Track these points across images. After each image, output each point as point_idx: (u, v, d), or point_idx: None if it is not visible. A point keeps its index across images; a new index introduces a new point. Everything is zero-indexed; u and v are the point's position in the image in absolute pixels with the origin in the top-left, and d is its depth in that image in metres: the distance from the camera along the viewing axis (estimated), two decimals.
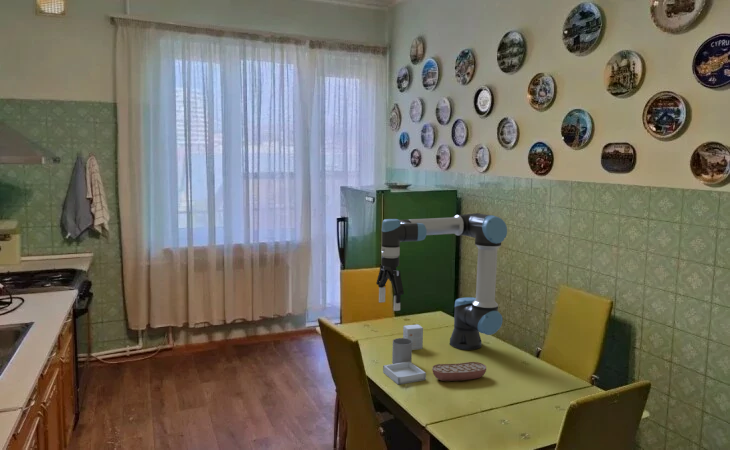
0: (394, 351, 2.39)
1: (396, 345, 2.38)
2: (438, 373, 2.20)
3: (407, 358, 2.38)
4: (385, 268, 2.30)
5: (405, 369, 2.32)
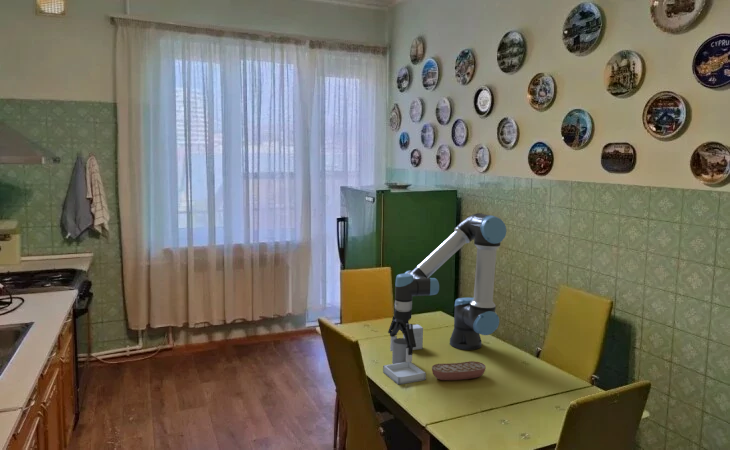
0: (394, 351, 2.39)
1: (396, 345, 2.38)
2: (438, 373, 2.21)
3: None
4: (397, 320, 2.41)
5: (405, 369, 2.32)
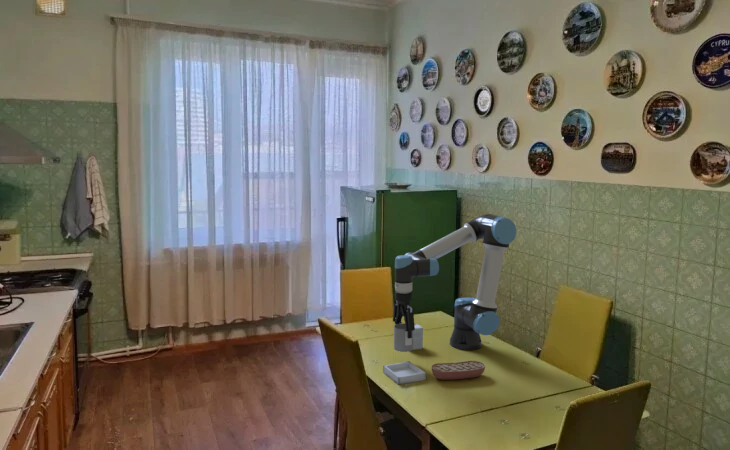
0: (395, 336, 2.38)
1: (397, 330, 2.37)
2: (437, 372, 2.21)
3: None
4: (399, 302, 2.39)
5: (405, 369, 2.32)
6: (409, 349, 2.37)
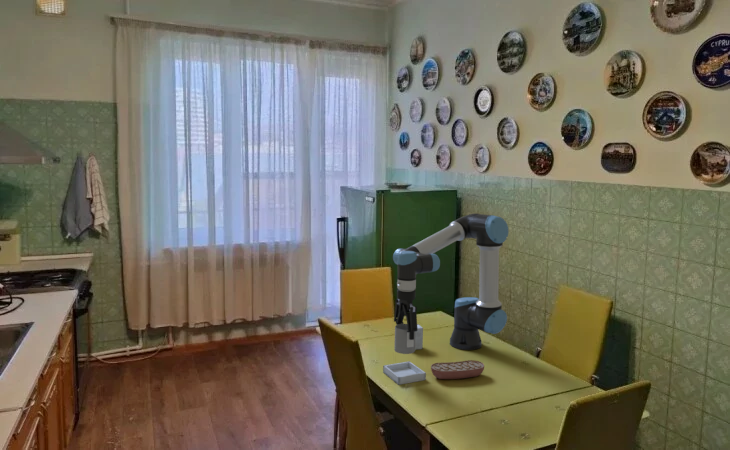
0: (396, 337, 2.23)
1: (398, 330, 2.22)
2: (437, 372, 2.22)
3: None
4: (401, 301, 2.25)
5: (405, 369, 2.32)
6: (411, 351, 2.22)
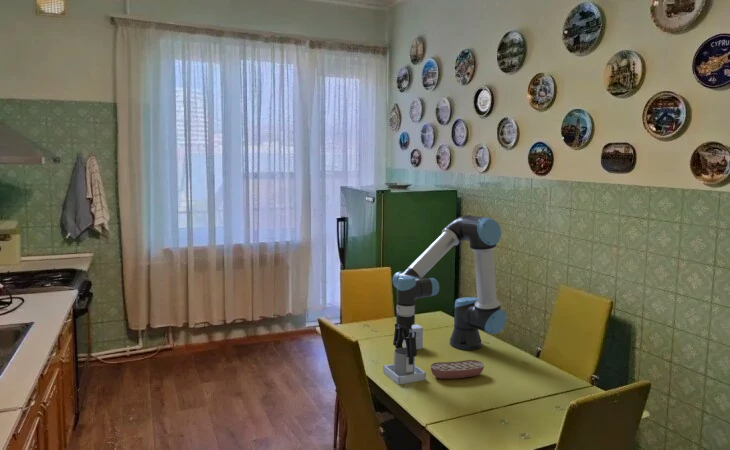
0: (396, 361, 2.24)
1: (397, 355, 2.23)
2: (436, 371, 2.22)
3: None
4: (400, 325, 2.26)
5: None
6: None
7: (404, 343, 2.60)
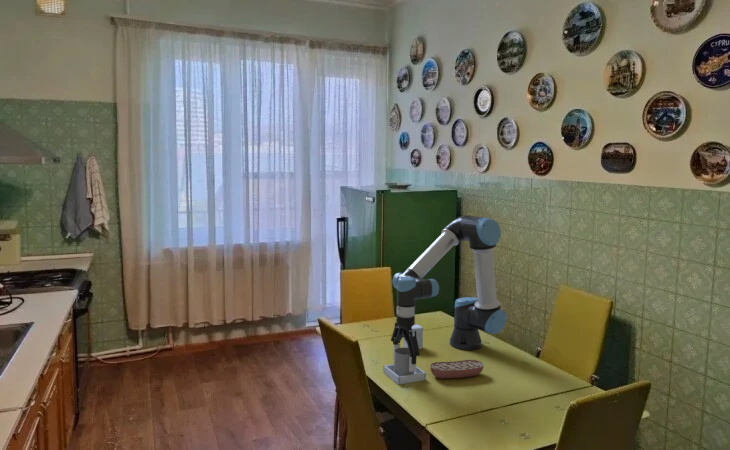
0: (396, 361, 2.24)
1: (397, 355, 2.23)
2: (436, 371, 2.23)
3: None
4: (400, 326, 2.26)
5: None
6: None
7: (404, 343, 2.60)
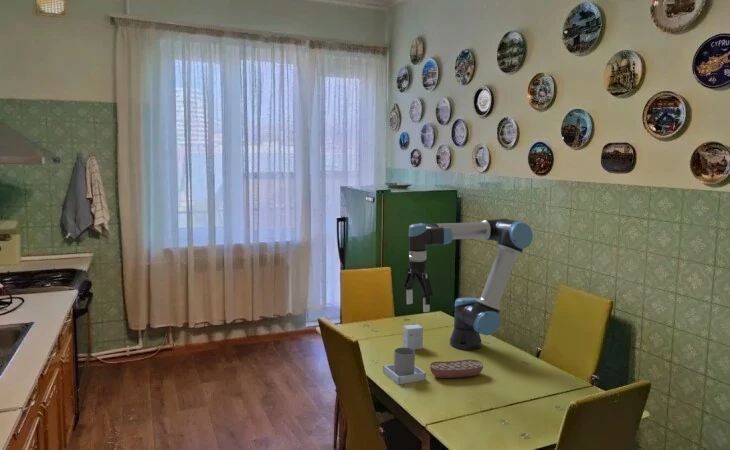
0: (396, 361, 2.24)
1: (397, 355, 2.23)
2: (436, 370, 2.23)
3: (410, 370, 2.23)
4: (413, 271, 2.39)
5: None
6: None
7: (404, 343, 2.60)
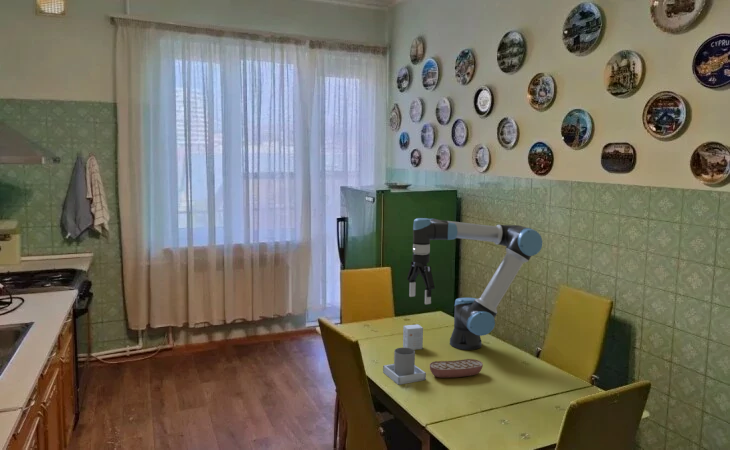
0: (396, 361, 2.24)
1: (397, 355, 2.23)
2: (435, 370, 2.24)
3: (410, 370, 2.23)
4: (416, 264, 2.44)
5: None
6: None
7: (404, 343, 2.60)
